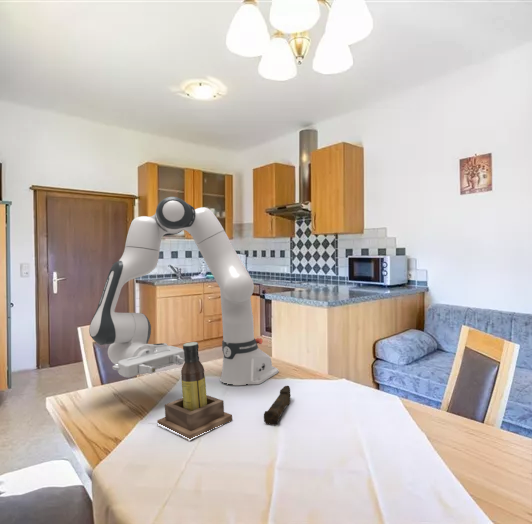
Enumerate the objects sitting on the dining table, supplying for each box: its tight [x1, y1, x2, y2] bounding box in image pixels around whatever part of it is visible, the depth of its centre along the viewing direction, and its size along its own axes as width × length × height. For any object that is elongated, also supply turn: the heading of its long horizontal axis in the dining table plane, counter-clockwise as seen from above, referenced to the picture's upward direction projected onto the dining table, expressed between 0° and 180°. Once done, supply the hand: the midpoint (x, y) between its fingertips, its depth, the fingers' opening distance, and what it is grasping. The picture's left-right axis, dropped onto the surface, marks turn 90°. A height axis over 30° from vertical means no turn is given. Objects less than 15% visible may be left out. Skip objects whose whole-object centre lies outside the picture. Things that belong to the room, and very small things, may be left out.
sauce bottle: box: [180, 341, 207, 411], centre depth 99 cm, size 6×6×20 cm
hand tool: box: [263, 385, 292, 426], centre depth 105 cm, size 19×4×5 cm, turn 159°
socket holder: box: [156, 394, 233, 439], centre depth 99 cm, size 14×14×6 cm
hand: (167, 365), depth 106 cm, fingers open, 8 cm apart
